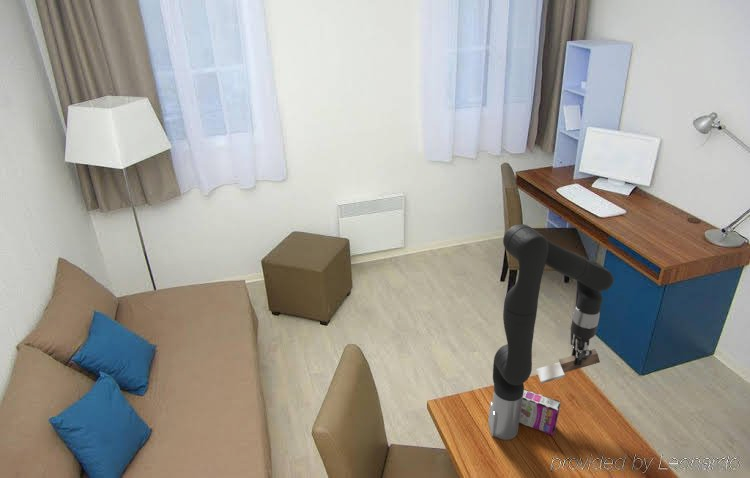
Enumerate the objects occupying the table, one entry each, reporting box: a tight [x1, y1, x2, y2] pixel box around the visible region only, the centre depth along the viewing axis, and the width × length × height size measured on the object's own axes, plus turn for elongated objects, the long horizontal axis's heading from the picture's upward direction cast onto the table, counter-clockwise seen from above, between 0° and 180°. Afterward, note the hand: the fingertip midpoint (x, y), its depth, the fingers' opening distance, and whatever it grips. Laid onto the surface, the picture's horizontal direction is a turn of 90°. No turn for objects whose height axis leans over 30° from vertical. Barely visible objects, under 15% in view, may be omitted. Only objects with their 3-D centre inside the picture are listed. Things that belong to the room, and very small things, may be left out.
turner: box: [535, 348, 601, 384], centre depth 174 cm, size 20×6×4 cm, turn 88°
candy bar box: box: [519, 388, 562, 436], centre depth 175 cm, size 11×5×16 cm
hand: (575, 362), depth 173 cm, fingers closed on turner, 2 cm apart
